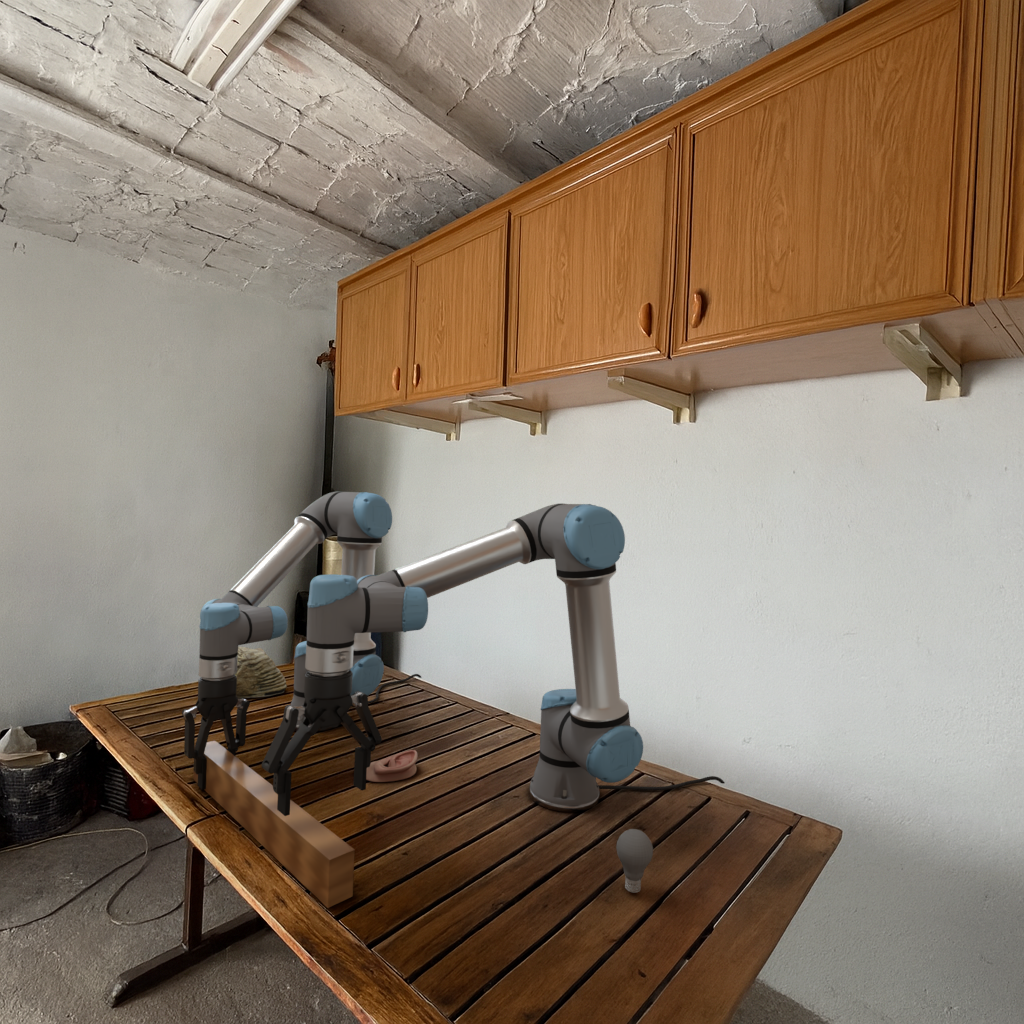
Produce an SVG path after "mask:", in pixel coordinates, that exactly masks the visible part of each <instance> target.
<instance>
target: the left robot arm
mask: <svg viewBox="0 0 1024 1024" xmlns="http://www.w3.org/2000/svg"><path fill="white" fill-rule="evenodd" d="M293 524H294V525H293V526H291V528H290V529H289V530H288V531H287V532H286V533H285V534H284V535H283V536H282V537H281V538H280V539H279V540H278V541H277V542H275V544H274V545H273V546H272V547H271V548H270V549H269V550H268V551H267V552H266V553H265V554H264V555H263V556H262V557H261V558H260V559H259V560H258V561H257V563H255V564H254V565H253V566H252V567H251V568H250V569H249V570H248V571H247V572H246V573H245V575H243V576H242V578H240V579H239V580H238V581H237V582H236V583H235V584H234V585H233V586H232V587H231V588H230V590H229V591H227V592H226V594H225V595H224V596H222V597H221V598H213V599H210V600H207V602H205V604H203V606H202V607H201V609H200V612H199V657H198V658H199V659H198V676H199V677H200V678H199V679H198V682H197V701H196V702H195V704H194V706H193V707H191V708H189V709H183V710H182V712H181V715H182V718H183V720H184V742H183V743H184V744H183V746H184V747H183V753H184V755H185V756H186V757H187V758H188V759H191V760H192V759H193V770H194V772H195V773H196V774H198V783H197V787H199V789H200V790H201V791H205V790H204V789H206V769H207V758H206V757H205V756H203V755H204V751H205V748H206V744H207V742H208V739H209V736H210V732H211V728H212V727H213V725H214V722H216V721H218V720H221V725H222V729H223V733H224V739H225V743H226V749H227V750H228V751H229V752H230V753H232V754H233V755H234V756H236V755H237V752H238V751H239V748H240V747H244V746H245V744H246V733H247V714H248V710H249V707H250V704H251V701H249V700H248V699H247V698H238V697H237V696H236V689H237V677H236V676H235V674H236V673H237V658H238V647H239V646H242V645H247V644H254V643H259V642H264V641H271V640H274V639H277V638H281V637H282V636H283V635H285V634H286V631H287V630H288V627H289V626H288V624H289V623H288V615H287V613H286V611H285V609H283V608H282V607H281V606H278V605H266V606H259V605H260V604H261V603H262V602H263V601H264V600H265V599H266V598H267V597H268V596H269V595H270V594H271V593H272V591H274V589H275V588H277V586H278V585H279V584H280V583H281V582H282V581H283V580H284V579H285V578H286V576H288V575H289V574H290V572H291V571H292V570H293V569H294V568H295V567H296V566H297V565H298V564H299V563H300V562H301V561H302V560H303V558H304V557H305V556H306V555H307V554H308V553H309V552H310V551H311V550H312V549H313V548H314V547H315V546H316V544H317V545H319V544H323V543H324V541H325V540H327V538H329V537H331V536H334V535H337V537H336V543H338V545H339V546H340V547H341V548H342V551H341V553H342V554H341V570H340V571H341V572H340V575H349V576H353V577H355V578H356V580H358V579H360V578H361V577H363V576H366V575H375V568H376V567H375V565H376V551H377V549H378V548H379V547H380V546H381V545H382V543H383V537H385V536H387V535H388V533H389V530H391V528H392V526H393V525H392V524H393V512H392V509H391V506H390V504H389V503H388V502H387V500H386V499H385V498H384V497H383V496H382V495H380V494H377V493H373V492H369V491H368V492H367V491H364V492H363V491H362V492H360V491H359V492H358V491H342V490H341V491H339V490H338V491H337V490H336V491H332V492H329V493H326V494H323V495H322V496H321V497H319V498H317V499H316V500H315V501H313V502H312V503H310V504H309V505H308V506H307V507H306V508H304V509H303V510H302V511H301V512H300V513H299V514H298V515H297V516H296V517H295V518H294V520H293ZM371 635H372V632H371V633H355V637H354V650H353V667H352V668H351V669H350V670H351V671H352V673H353V678H352V692H351V693H350V695H351V696H352V695H354V693H355V692H356V691H360V692H362V693H364V694H366V695H367V696H368V697H369V695H371V694H373V693H374V692H375V691H376V689H377V691H376V692H375V698H373V699H370V700H368V705H369V704H372V703H375V702H377V701H378V700H379V697H380V696H379V693H380V691H381V690H382V689H383V688H384V687H386V686H390V685H394V684H400V683H404V682H407V681H409V680H411V679H412V678H415V677H417V678H419V679H422V675H420V674H419V673H414V674H411V675H410V676H408V677H406V678H403V679H399V680H394V681H389V682H386V683H383V684H381V681H382V679H383V676H384V672H385V665H384V662H383V660H382V658H381V657H380V656H378V654H376V653H377V651H376V649H377V644H376V643H375V641H373V640H372V638H371ZM306 644H307V640H304V641H302V642H299V643H298V644H297V645H296V646H295V652H294V653H295V654H294V656H293V659H294V661H293V662H294V663H293V664H294V668H293V695H292V696H293V697H292V699H291V702H290V704H289V705H291V706H293V707H297V706H302V705H303V704H304V701H305V695H304V684H305V673H306V672H307V671H308V670H307V669H306V668H305V661H306ZM380 684H381V685H380ZM352 707H354V706H353V704H352V706H351V707H350V708H352ZM234 708H236V717H235V731H234V727H233V722H232V721H233V718H232V711H234ZM197 713H199V714H200V716H201V719H200V725H199V726H200V727H199V729H198V733H197V737H196V721H195V719H196V718H197ZM304 718H305V716H304V715H301V719H300V720H299V721H297V725H296V728H295V730H294V732H295V731H296V732H297V730H298V729H299V725H300V723H301V722H302V720H303V719H304ZM340 725H342V724H341V723H340V724H339V725H338V727H339V726H340ZM310 726H311V724H309V726H308V727H310ZM335 728H336V727H329V728H327V729H325V730H319V729H318V731H317V732H316V733H318V732H325V731H329V730H332V729H335ZM195 737H196V738H195ZM236 757H237V756H236ZM193 770H192V771H193Z"/></svg>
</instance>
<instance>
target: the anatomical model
mask: <svg viewBox="0 0 1024 1024" xmlns="http://www.w3.org/2000/svg"><path fill="white" fill-rule="evenodd" d="M418 755H419V754H418V752H417V750H415V749H409V750H405V751H402V752H399V753H396V754H393V755H390V756H388V757H386V758H382V759H379V760H375V761H371V764H370V767H368V768H367V774H366V781H369V782H373V783H386V782H387V783H388V782H395V781H401V780H406V779H408V778H411V777H412V776H415V774H416V773H417V765H416V763H417V761H418Z"/></svg>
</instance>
